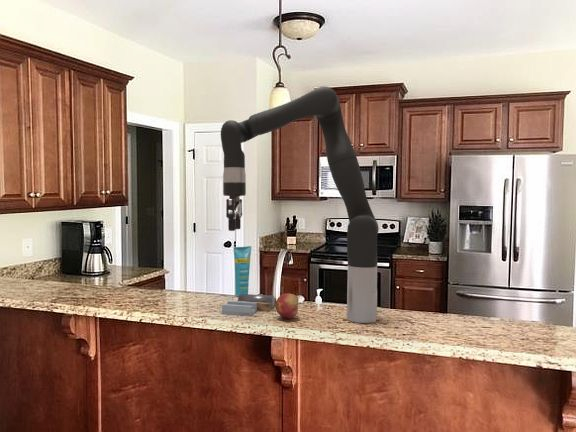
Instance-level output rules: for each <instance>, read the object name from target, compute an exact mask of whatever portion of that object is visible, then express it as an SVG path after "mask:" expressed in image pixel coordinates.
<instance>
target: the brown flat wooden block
mask: <svg viewBox="0 0 576 432" xmlns="http://www.w3.org/2000/svg"><path fill="white" fill-rule="evenodd" d="M274 299H275V303H276V301H277V298H275V297H274ZM241 302H248V301H241ZM256 303H257V312H258V311H260V312H261V311H262V312H271V311H272V309H271V303H263V302H256ZM275 303H274V307H276V306H275Z"/></svg>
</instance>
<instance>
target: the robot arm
mask: <svg viewBox="0 0 576 432" xmlns="http://www.w3.org/2000/svg"><path fill="white" fill-rule="evenodd" d="M342 113H343V112H342V109H341V102H340V98H339V96H338V94H337V93H336V92H335V90H334V89H333V88H331V87H329V86H326V85H325V86H319V87H317V88H315V89H313V90H311V91H308V92H307V93H305V94H303V95H301V96H300V97H297V98H295V99H293V100H291V101H288V102H286V103H284V104H280V105H278V106H275V107H273V108H270V109H266V110H263V111H260V112H257V113H254V114H251V115H250V116H249V117H248V119H245V120H243V121H239V122H238V121H236V120H232V119H230V120H227V121H225V122H224V123H223V124H222V126H221V128H220V141H221V147H222V152H223V174H222V188H223V189H222V193H223V194H222V195H223V196H224V197H228V198H226V200H225V201H226V206H225V207H226V209H225V210H226V215H225V216H226V218H227V220H228V221H227V222H228V225H227V226H228V231H229V232H235V231H236V230H241V219H242V216H243V199H242V198H240V197H245V196H246V195H247V190H246V189H247V187H246V186H247V184H246V183H247V181H246V180H247V179H246V178H247V177H246V176H247V175H246V159H245V158H246V156H245V153H244V151H243V149H242V143H245V142H248V141H250V140H252V139H254V138H256V137H258V136H262V135H265V134H268V133H272V132H274V131H277V130H279V129H282V128H284V127H285V126H287V125H289V124H290V123H292V122H295V121H298V120H299V119H304V118H307V117H308V118H309V117H313V116H315V117H316V119H317V121H318V123H319V126H320V128H321V131H322V135H323V138H324V145H325V153H326V160H327V164H328V168H329V170H330V174H331V177H332V179H333V182H334V185H335V188H336V189H337V190H338V192H339V195H340V196H341V199H342V201H343V203H344V205H345V209H346V212H347V218H348V222H349V223H348V225H347V230H346V256H347V287H346V289H347V291H346V293H347V294H346V298H347V299H346V320H347V321H349V322H353V323H357V324H359V323H360V324H369V323H377V319H378V317H377V316H378V314H377V313H378V234H379V224H378V221H377V220H376V217H375V215H374V212H373V210H372V208H371V206H370V203H369V201H368V198H367V194H366V189H365V182H364V179H363V174H362V172H361V167H360V163H359V160H358V157H357V154H356V151H355V148H354V146H353V143H352V141H351V139H350V137H349V135H348V132H347V130H346V126H345V123H344V118H343V114H342Z"/></svg>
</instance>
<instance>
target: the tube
mask: <svg viewBox="0 0 576 432" xmlns="http://www.w3.org/2000/svg"><path fill="white" fill-rule="evenodd" d="M251 254H252V245H250V246H249V245H247V246H233V258H234V278H235V279H234V280H235V283H234V285H235V287H234V288H235V292H234V293H235V296H236V297H239V295H240V294H249V284H250V283H249V282H250V281H249V280H250V269H251V268H250V267H251V256H252V255H251Z"/></svg>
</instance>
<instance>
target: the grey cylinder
mask: <svg viewBox="0 0 576 432" xmlns="http://www.w3.org/2000/svg"><path fill="white" fill-rule="evenodd" d="M274 298H275V296H274V295H264V294H249V293H248V294H240V295H239V296H237V301H248V302H263V303H271V310H273V309H274V308H275V306H274V303H275V299H274Z"/></svg>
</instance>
